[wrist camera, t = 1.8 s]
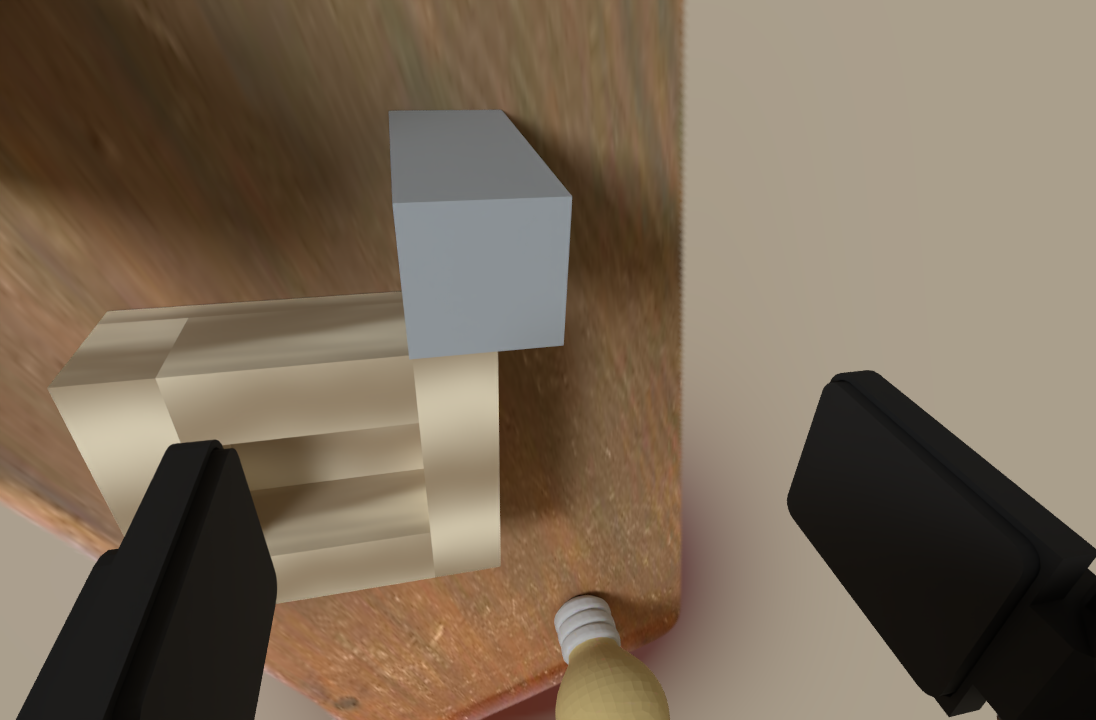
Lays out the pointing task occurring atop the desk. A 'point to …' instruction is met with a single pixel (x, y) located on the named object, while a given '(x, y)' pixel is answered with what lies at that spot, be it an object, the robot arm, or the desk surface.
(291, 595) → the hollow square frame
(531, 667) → the desk surface
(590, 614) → the light bulb
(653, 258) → the desk surface
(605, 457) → the desk surface
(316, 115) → the desk surface
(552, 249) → the grey rectangular prism
